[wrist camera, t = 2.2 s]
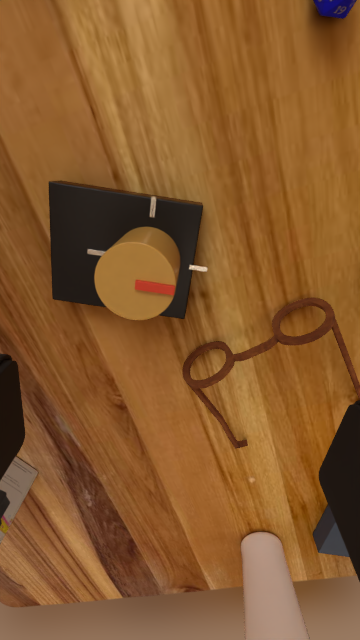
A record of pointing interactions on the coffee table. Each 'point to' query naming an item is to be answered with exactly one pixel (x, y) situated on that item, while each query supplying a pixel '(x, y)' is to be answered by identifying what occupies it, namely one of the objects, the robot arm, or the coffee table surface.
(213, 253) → the coffee table surface
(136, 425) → the coffee table surface
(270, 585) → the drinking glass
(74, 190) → the panel
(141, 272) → the tan dial knob
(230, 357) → the glasses
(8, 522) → the ink box
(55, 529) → the coffee table surface
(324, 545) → the button box
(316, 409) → the coffee table surface
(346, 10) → the die
